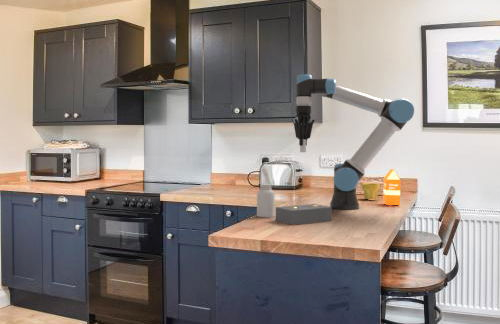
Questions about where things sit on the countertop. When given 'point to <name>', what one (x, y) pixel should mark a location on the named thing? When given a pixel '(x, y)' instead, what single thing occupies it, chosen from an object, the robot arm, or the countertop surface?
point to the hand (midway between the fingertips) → (302, 152)
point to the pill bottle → (265, 201)
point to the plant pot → (370, 190)
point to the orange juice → (391, 189)
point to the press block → (303, 214)
